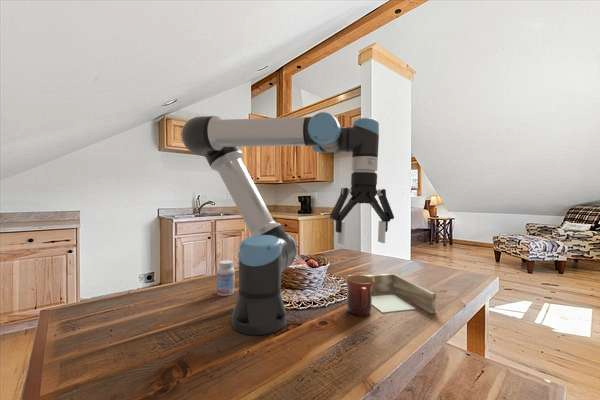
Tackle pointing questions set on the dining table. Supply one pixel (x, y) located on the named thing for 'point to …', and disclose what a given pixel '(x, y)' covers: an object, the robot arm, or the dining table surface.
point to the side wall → (382, 282)
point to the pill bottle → (225, 278)
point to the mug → (359, 294)
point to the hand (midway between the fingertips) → (361, 243)
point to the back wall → (414, 293)
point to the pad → (390, 304)
